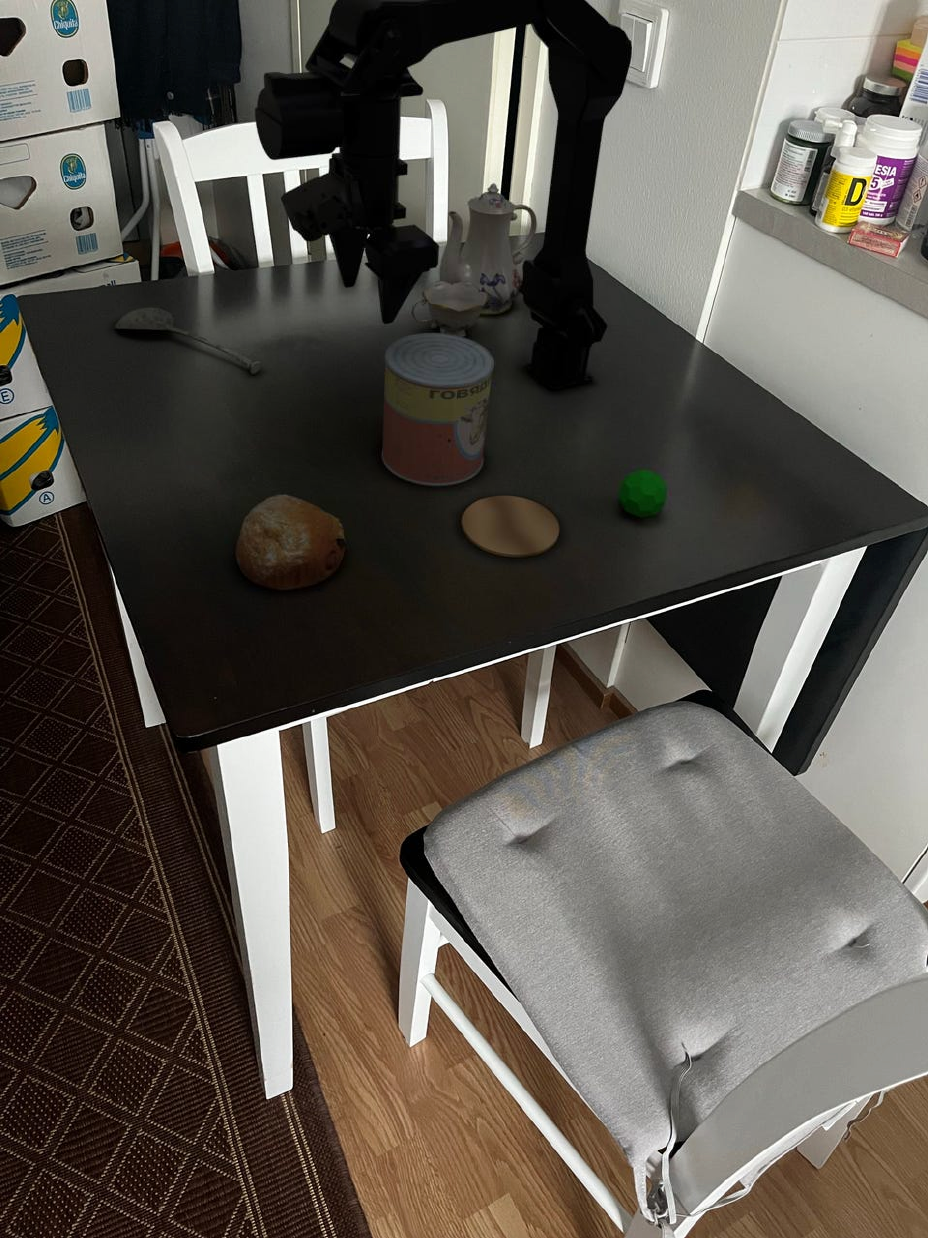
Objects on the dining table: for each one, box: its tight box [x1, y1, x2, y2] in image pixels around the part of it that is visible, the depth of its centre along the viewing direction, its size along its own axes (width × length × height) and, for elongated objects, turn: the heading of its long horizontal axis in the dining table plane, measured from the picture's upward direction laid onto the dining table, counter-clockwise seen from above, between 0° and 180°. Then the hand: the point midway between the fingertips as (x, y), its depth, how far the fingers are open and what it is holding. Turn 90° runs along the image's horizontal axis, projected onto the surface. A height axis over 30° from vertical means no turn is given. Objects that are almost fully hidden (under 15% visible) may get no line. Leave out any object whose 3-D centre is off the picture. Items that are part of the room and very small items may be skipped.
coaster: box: [461, 495, 560, 559], centre depth 101 cm, size 10×10×1 cm
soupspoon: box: [114, 307, 262, 375], centre depth 123 cm, size 22×3×7 cm
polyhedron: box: [618, 469, 668, 519], centre depth 103 cm, size 5×5×5 cm
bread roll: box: [235, 493, 348, 591], centre depth 93 cm, size 10×10×8 cm
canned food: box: [381, 332, 495, 487], centre depth 105 cm, size 11×11×12 cm
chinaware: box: [411, 182, 596, 337], centre depth 133 cm, size 28×17×17 cm, turn 127°
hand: (367, 304), depth 104 cm, fingers open, 9 cm apart
